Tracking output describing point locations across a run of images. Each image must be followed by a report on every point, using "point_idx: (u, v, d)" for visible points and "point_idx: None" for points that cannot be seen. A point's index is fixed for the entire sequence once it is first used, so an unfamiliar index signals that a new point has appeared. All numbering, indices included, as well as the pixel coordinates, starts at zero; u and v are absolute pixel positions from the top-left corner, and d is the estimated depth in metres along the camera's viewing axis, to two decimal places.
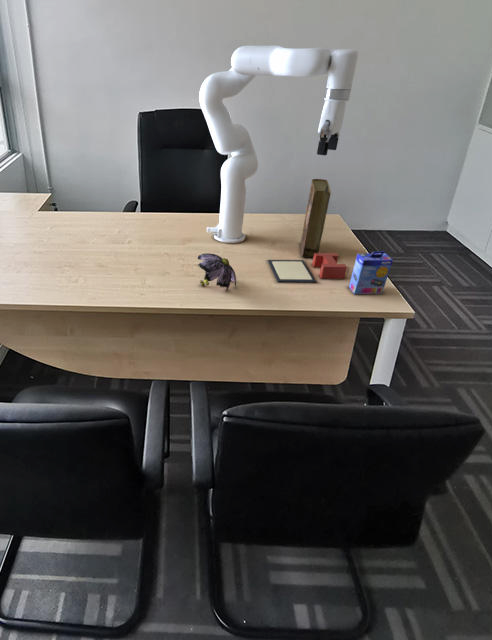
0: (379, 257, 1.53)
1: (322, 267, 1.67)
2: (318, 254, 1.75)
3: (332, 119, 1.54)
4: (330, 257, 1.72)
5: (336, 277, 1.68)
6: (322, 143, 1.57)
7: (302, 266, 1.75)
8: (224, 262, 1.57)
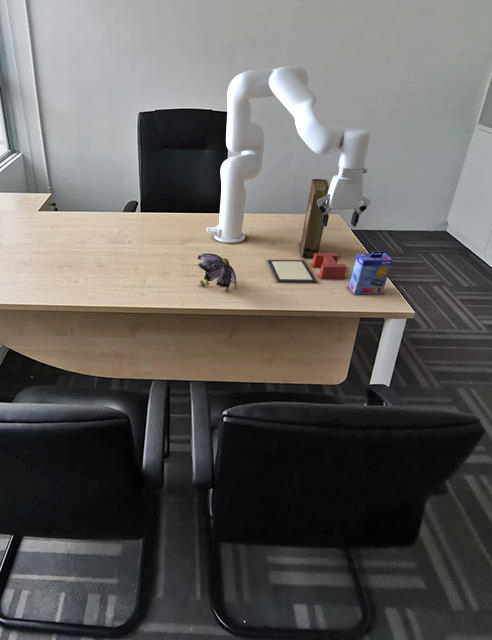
0: (379, 257, 1.53)
1: (322, 267, 1.67)
2: (318, 254, 1.75)
3: (331, 194, 1.57)
4: (330, 257, 1.72)
5: (336, 277, 1.68)
6: (323, 214, 1.62)
7: (302, 266, 1.75)
8: (224, 262, 1.57)
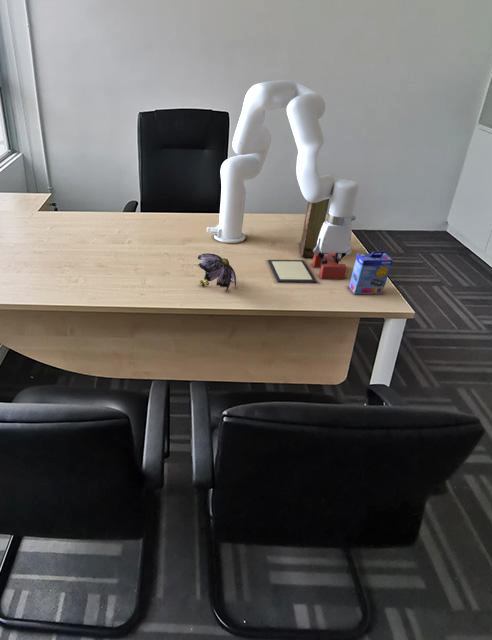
0: (379, 257, 1.53)
1: (322, 267, 1.67)
2: None
3: (321, 239, 1.65)
4: (330, 257, 1.72)
5: (336, 277, 1.68)
6: (321, 260, 1.71)
7: (302, 266, 1.75)
8: (224, 262, 1.57)
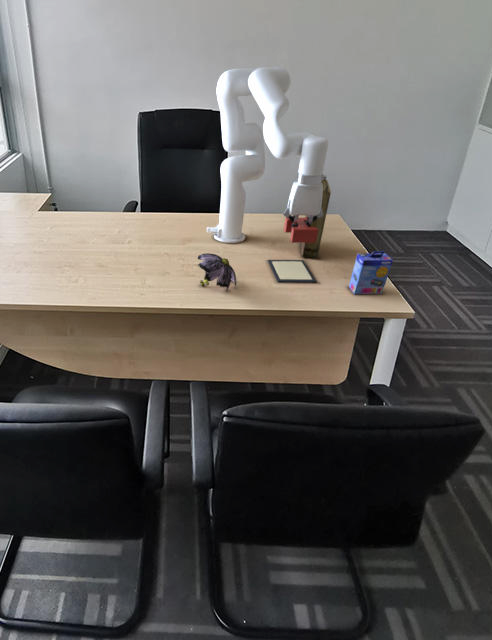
0: (379, 257, 1.53)
1: (292, 230, 1.59)
2: None
3: (291, 200, 1.58)
4: (302, 221, 1.65)
5: (308, 241, 1.60)
6: (292, 224, 1.63)
7: (302, 266, 1.75)
8: (224, 262, 1.57)
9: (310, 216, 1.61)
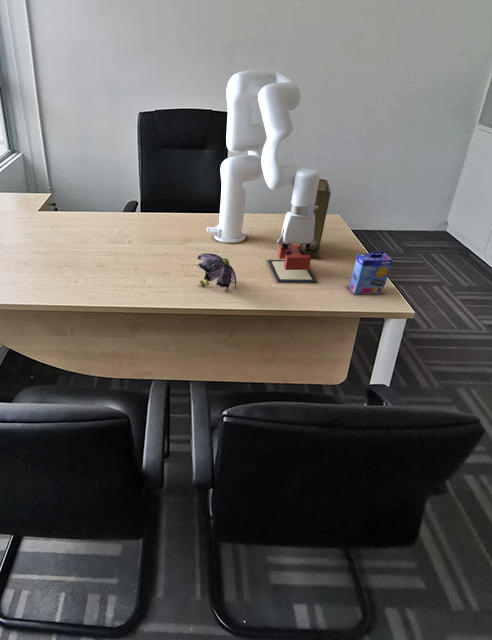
0: (379, 257, 1.53)
1: (286, 258, 1.65)
2: None
3: (284, 229, 1.63)
4: (295, 248, 1.70)
5: (301, 268, 1.66)
6: (286, 251, 1.69)
7: None
8: (224, 262, 1.57)
9: (303, 244, 1.66)
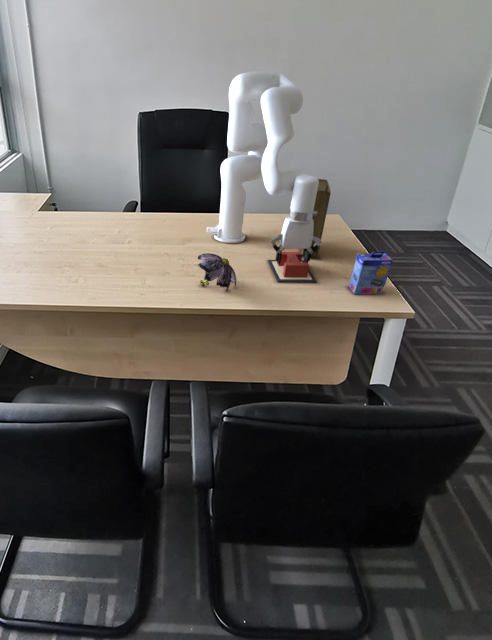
0: (379, 257, 1.53)
1: (284, 266, 1.66)
2: (282, 252, 1.74)
3: (283, 234, 1.64)
4: (294, 256, 1.72)
5: (299, 276, 1.67)
6: (276, 252, 1.69)
7: None
8: (224, 262, 1.57)
9: (307, 247, 1.67)
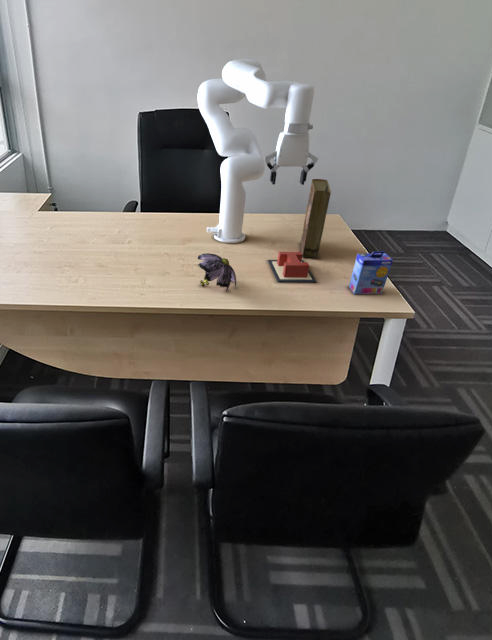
0: (379, 257, 1.53)
1: (284, 266, 1.66)
2: (282, 252, 1.74)
3: (278, 150, 1.57)
4: (294, 256, 1.72)
5: (299, 276, 1.67)
6: (271, 172, 1.62)
7: None
8: (224, 262, 1.57)
9: None
